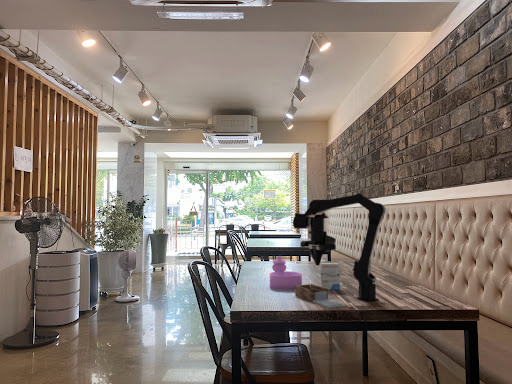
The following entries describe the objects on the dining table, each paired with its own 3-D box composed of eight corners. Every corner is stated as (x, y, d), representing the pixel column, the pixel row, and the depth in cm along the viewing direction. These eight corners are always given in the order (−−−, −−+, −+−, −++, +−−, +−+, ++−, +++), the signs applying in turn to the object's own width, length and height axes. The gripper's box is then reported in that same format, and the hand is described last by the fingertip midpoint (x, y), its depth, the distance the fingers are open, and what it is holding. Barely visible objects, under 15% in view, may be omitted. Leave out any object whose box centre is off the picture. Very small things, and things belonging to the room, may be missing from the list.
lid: (343, 307, 142) (342, 296, 142) (328, 308, 139) (328, 297, 139) (326, 301, 151) (326, 291, 151) (312, 302, 148) (312, 292, 149)
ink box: (338, 288, 177) (338, 262, 178) (340, 290, 172) (339, 264, 173) (320, 287, 178) (320, 262, 179) (321, 289, 173) (320, 263, 174)
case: (328, 299, 152) (328, 288, 152) (311, 301, 148) (311, 290, 148) (311, 294, 162) (311, 284, 163) (295, 296, 159) (295, 285, 159)
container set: (305, 289, 173) (305, 260, 174) (273, 290, 171) (273, 261, 172) (291, 280, 198) (291, 255, 199) (263, 281, 195) (263, 255, 196)
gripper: (346, 229, 158) (346, 266, 157) (320, 228, 175) (320, 262, 174) (324, 229, 154) (324, 268, 153) (299, 228, 170) (299, 263, 169)
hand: (317, 265), depth 162 cm, fingers closed
